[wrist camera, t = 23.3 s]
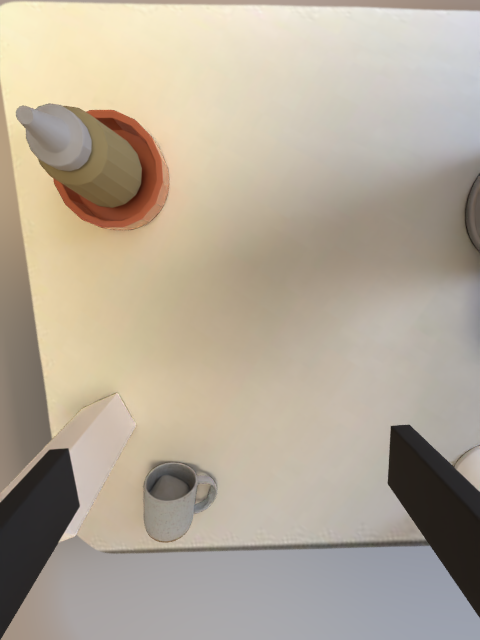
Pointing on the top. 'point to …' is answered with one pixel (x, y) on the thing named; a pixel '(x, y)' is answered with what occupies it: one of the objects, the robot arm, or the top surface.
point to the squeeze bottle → (82, 153)
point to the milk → (89, 451)
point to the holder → (152, 180)
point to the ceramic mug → (173, 500)
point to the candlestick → (470, 466)
